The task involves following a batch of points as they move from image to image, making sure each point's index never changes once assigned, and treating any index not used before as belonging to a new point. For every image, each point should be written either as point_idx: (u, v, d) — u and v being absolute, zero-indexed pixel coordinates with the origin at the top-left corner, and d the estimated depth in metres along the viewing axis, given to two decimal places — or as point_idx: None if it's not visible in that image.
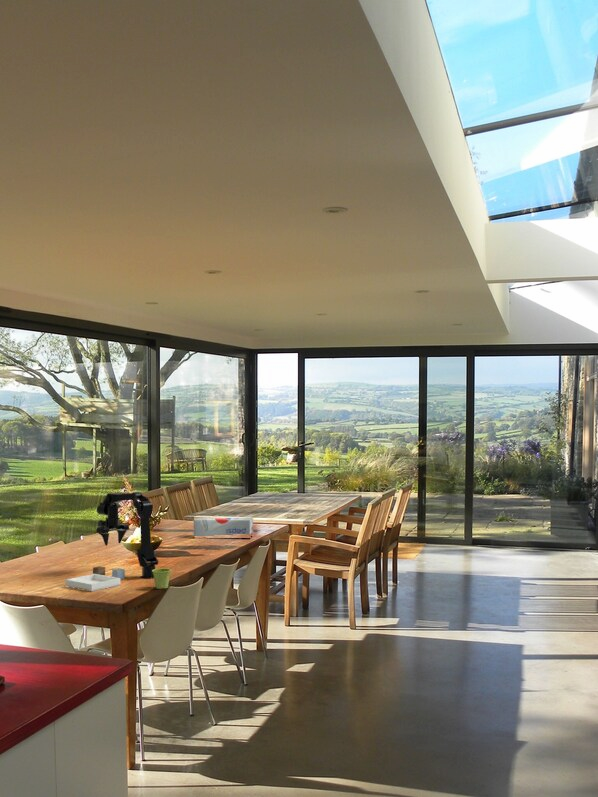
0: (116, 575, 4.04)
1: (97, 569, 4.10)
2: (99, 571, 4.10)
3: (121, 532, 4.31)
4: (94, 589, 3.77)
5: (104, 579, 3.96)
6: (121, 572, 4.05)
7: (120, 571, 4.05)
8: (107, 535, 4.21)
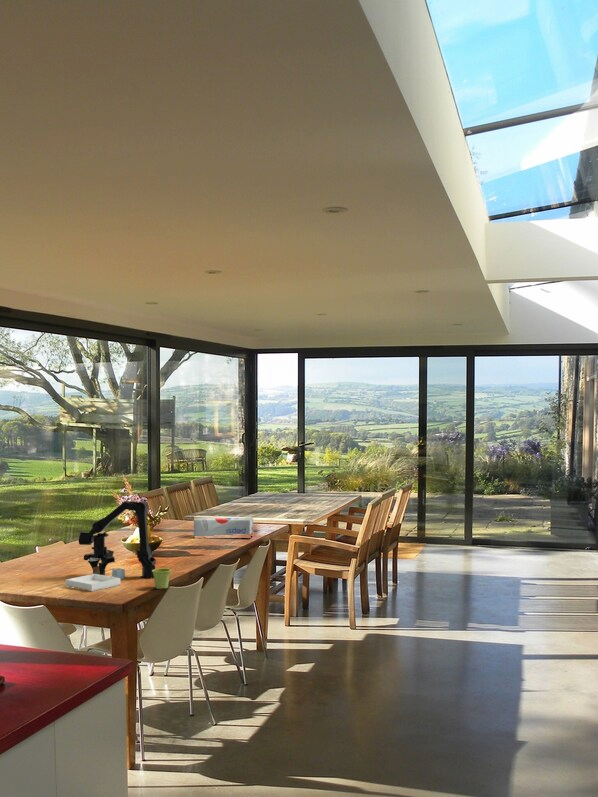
0: (116, 575, 4.04)
1: (97, 569, 4.10)
2: (99, 571, 4.10)
3: None
4: (94, 589, 3.77)
5: (104, 579, 3.96)
6: (121, 572, 4.05)
7: (120, 571, 4.05)
8: (90, 563, 4.13)
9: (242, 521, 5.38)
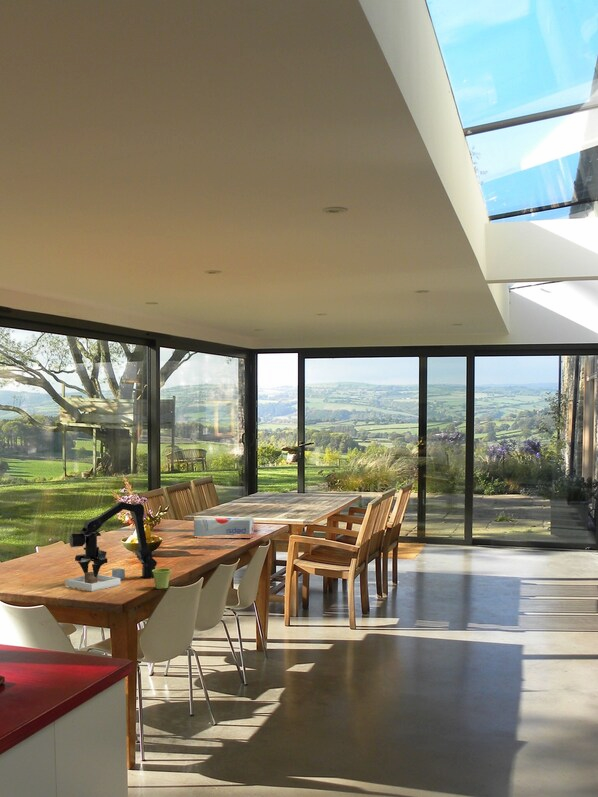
0: (116, 575, 4.04)
1: (89, 575, 3.91)
2: (91, 576, 3.91)
3: None
4: (94, 589, 3.77)
5: (104, 579, 3.96)
6: (121, 572, 4.05)
7: (120, 571, 4.05)
8: (80, 564, 3.94)
9: (242, 521, 5.38)
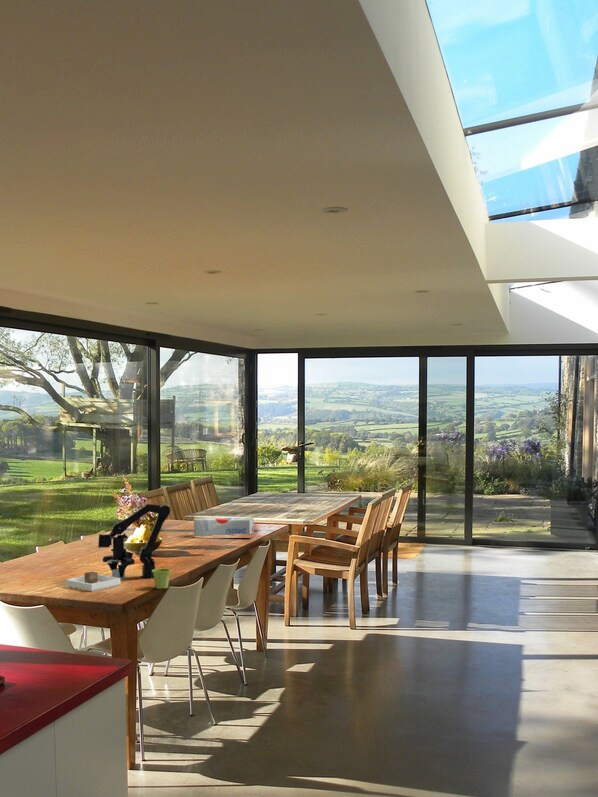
0: (116, 575, 4.04)
1: (89, 575, 3.91)
2: (91, 576, 3.91)
3: None
4: (94, 589, 3.77)
5: (104, 579, 3.96)
6: None
7: None
8: (109, 565, 4.07)
9: (242, 521, 5.38)
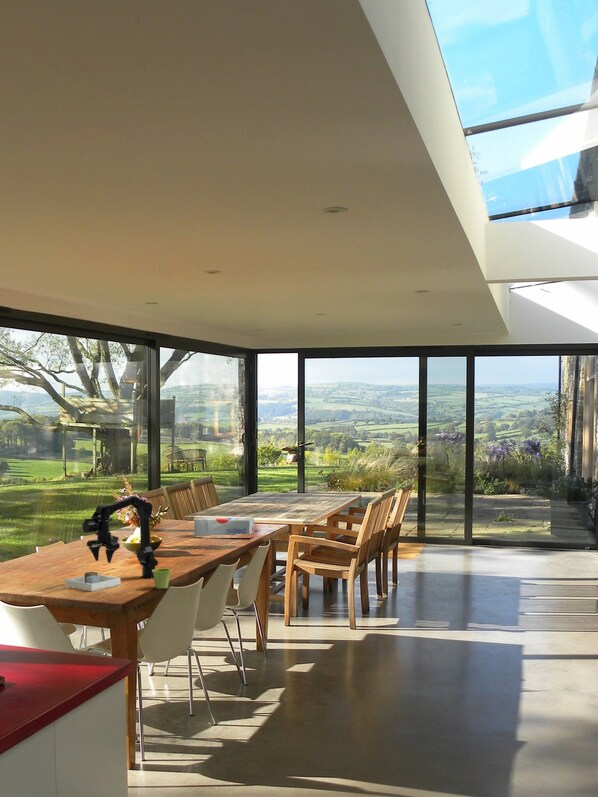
0: (90, 583, 3.81)
1: (89, 575, 3.91)
2: None
3: None
4: (94, 589, 3.77)
5: (104, 579, 3.96)
6: (96, 579, 3.82)
7: (95, 579, 3.81)
8: (91, 549, 3.91)
9: (242, 521, 5.37)
